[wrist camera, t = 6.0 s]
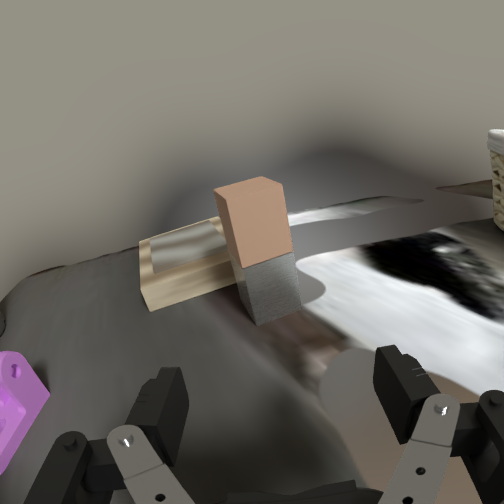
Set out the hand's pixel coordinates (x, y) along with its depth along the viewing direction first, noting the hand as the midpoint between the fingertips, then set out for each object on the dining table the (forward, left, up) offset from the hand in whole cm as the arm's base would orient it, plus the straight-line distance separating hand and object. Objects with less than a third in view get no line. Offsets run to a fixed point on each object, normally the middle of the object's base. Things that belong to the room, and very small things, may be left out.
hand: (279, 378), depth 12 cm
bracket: (-11, -25, -10) cm, 30 cm away
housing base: (-19, +5, -10) cm, 22 cm away
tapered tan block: (-19, +5, -3) cm, 20 cm away
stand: (-35, -1, -10) cm, 36 cm away
